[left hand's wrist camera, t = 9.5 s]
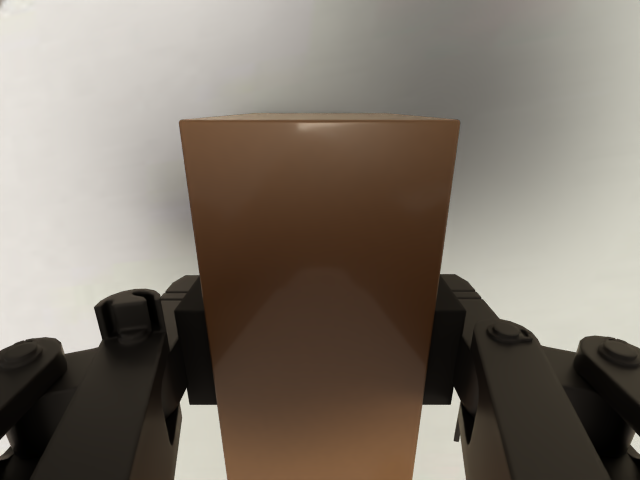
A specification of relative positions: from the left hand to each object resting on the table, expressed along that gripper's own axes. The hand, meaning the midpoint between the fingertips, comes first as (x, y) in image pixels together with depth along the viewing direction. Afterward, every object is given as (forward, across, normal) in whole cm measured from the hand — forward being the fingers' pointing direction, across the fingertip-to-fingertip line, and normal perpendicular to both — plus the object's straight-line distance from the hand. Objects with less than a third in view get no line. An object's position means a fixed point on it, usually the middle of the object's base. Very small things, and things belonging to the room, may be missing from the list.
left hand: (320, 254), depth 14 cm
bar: (+1, 0, -35) cm, 35 cm away
